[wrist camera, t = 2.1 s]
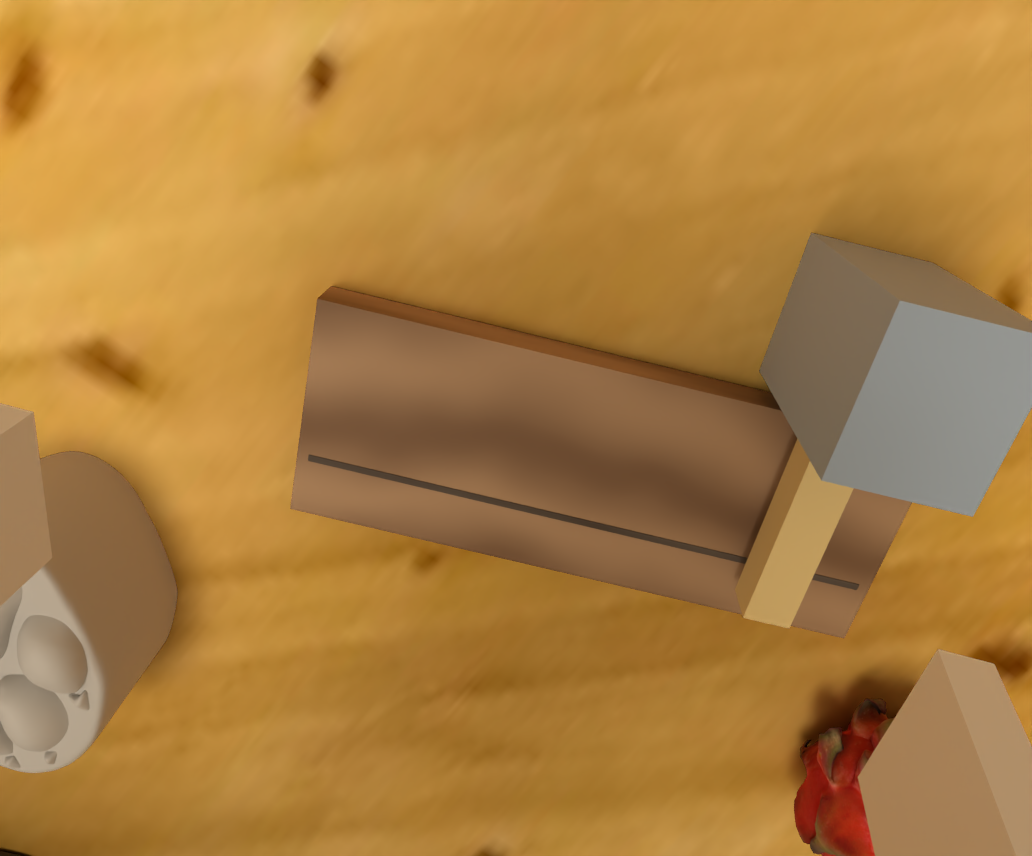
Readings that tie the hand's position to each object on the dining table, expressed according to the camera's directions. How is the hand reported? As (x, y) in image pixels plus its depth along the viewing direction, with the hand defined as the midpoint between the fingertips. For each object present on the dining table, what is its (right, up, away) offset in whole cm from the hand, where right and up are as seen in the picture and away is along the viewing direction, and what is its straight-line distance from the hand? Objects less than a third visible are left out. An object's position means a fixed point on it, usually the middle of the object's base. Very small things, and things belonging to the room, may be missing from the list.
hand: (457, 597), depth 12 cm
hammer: (+13, +3, +24) cm, 27 cm away
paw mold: (-22, -5, +30) cm, 38 cm away
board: (+5, +1, +25) cm, 26 cm away
